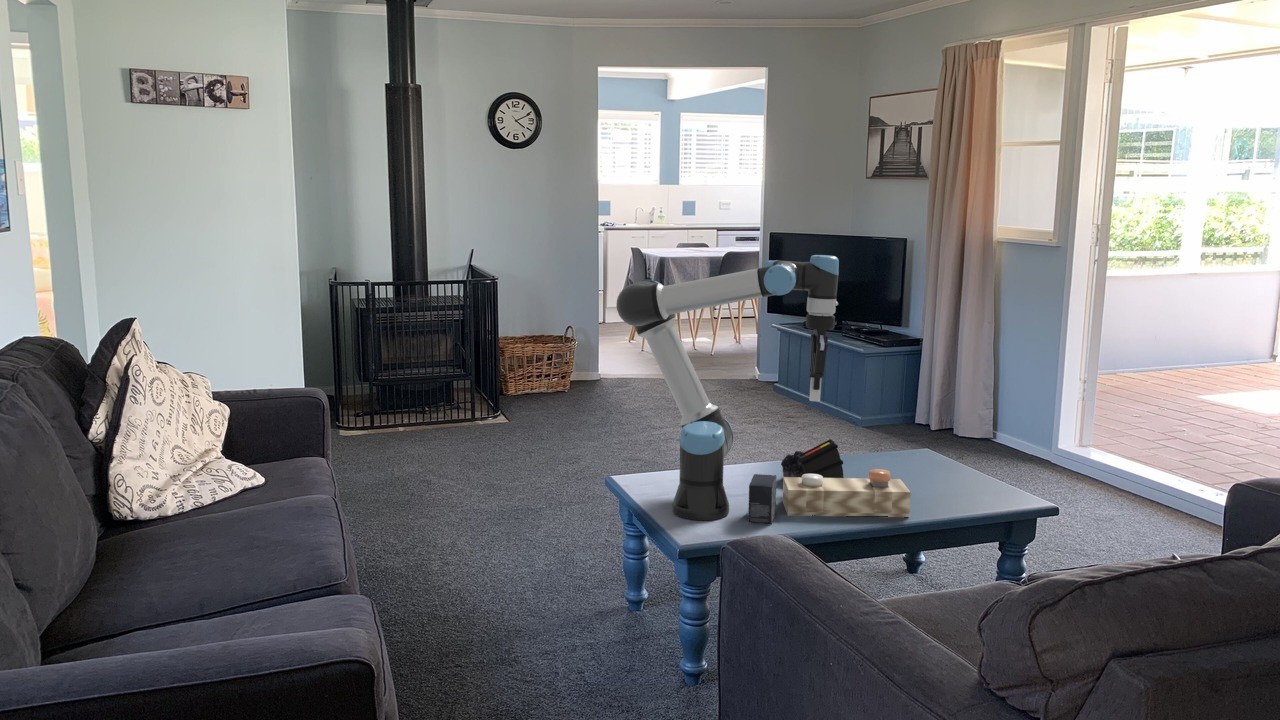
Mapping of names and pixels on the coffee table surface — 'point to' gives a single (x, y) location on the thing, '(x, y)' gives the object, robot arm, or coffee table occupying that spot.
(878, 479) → the terracotta plunger
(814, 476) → the pale plunger
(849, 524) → the coffee table surface
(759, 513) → the small box
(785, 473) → the black rock
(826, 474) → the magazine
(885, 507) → the block
